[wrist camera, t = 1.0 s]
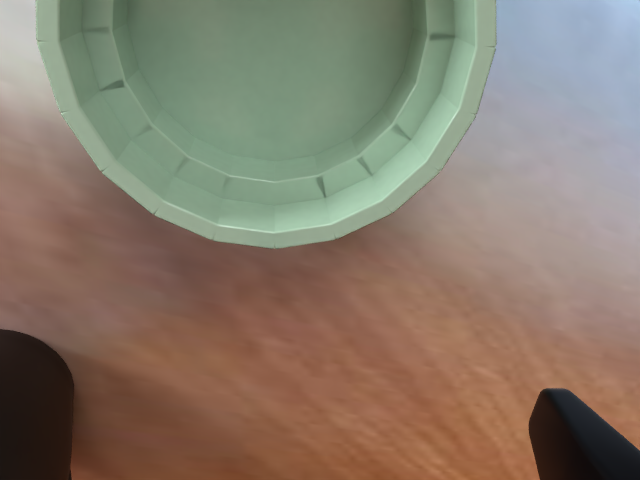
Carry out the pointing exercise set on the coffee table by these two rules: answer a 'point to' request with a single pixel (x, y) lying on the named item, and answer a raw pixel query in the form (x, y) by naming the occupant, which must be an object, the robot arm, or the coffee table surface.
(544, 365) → the coffee table surface
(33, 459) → the mug
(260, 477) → the coffee table surface
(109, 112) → the bowl
